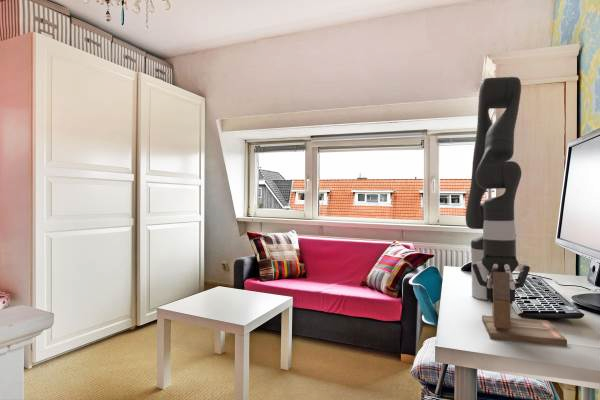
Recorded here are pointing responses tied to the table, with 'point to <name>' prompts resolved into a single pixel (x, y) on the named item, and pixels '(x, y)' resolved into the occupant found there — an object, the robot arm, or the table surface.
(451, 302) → the table surface
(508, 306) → the tan cylinder-on-bar part
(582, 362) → the table surface
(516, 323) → the board
